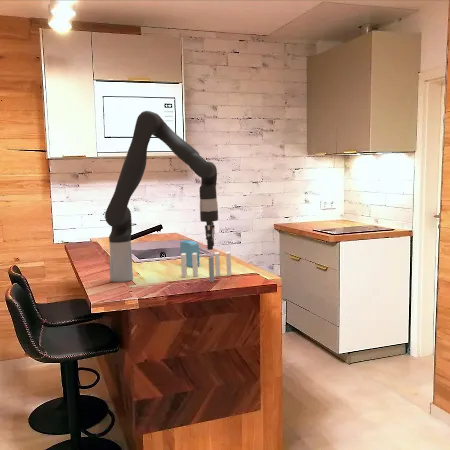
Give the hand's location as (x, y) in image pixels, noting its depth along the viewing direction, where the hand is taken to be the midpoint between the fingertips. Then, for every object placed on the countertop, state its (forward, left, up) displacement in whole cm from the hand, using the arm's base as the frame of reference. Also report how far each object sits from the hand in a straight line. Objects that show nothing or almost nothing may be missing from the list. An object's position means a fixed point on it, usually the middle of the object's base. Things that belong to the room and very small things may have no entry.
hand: (210, 248), depth 213 cm
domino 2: (-8, +11, -14) cm, 20 cm away
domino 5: (+7, +11, -14) cm, 19 cm away
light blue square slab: (-13, +37, -14) cm, 42 cm away
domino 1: (-13, +11, -14) cm, 22 cm away
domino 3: (0, 0, -14) cm, 14 cm away
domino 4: (+2, +11, -14) cm, 18 cm away
